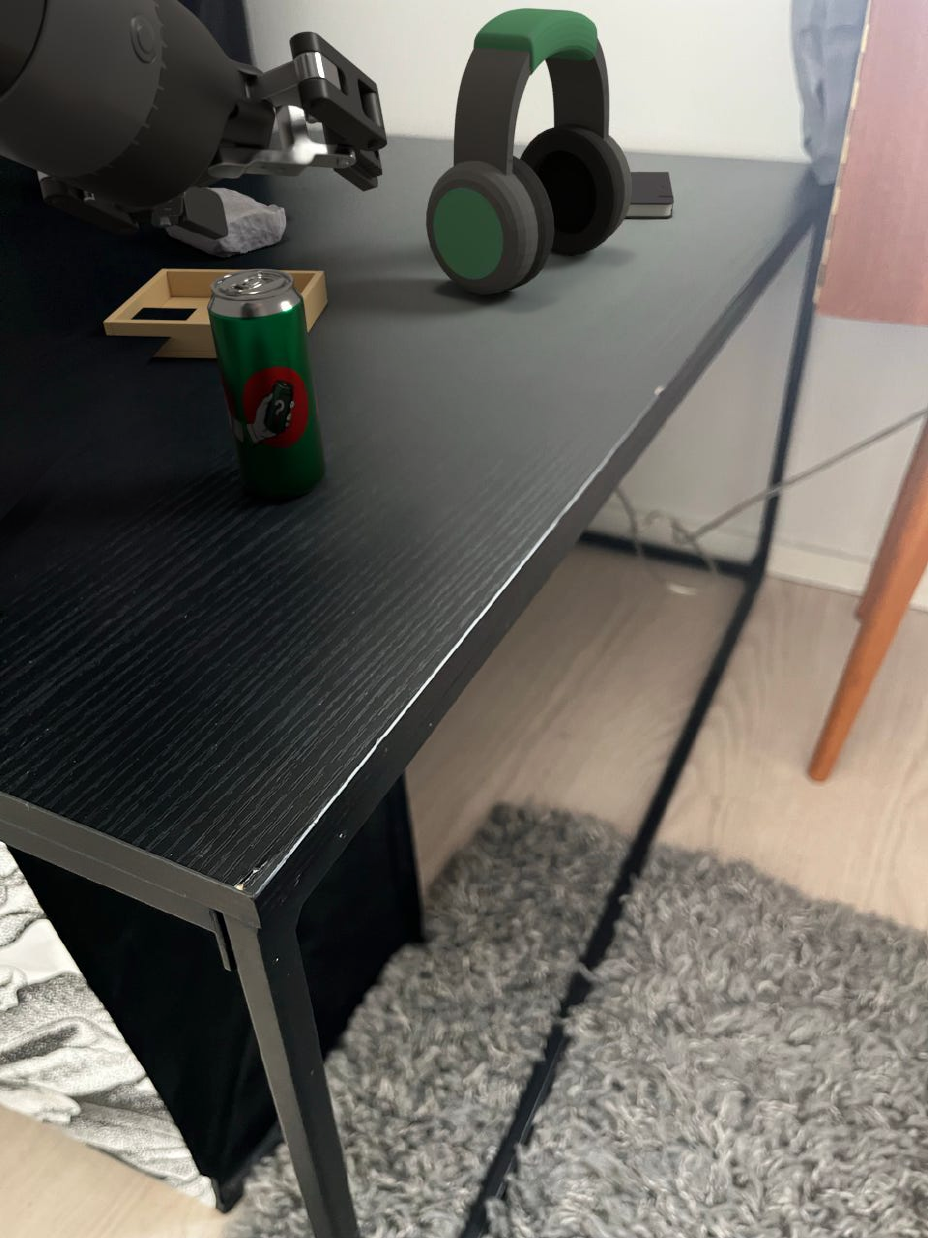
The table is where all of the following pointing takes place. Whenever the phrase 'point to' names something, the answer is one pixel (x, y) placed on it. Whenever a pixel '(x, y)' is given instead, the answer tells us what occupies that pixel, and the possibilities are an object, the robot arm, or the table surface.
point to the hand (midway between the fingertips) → (291, 194)
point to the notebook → (650, 195)
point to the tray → (195, 293)
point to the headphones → (528, 156)
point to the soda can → (268, 381)
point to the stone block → (238, 226)
